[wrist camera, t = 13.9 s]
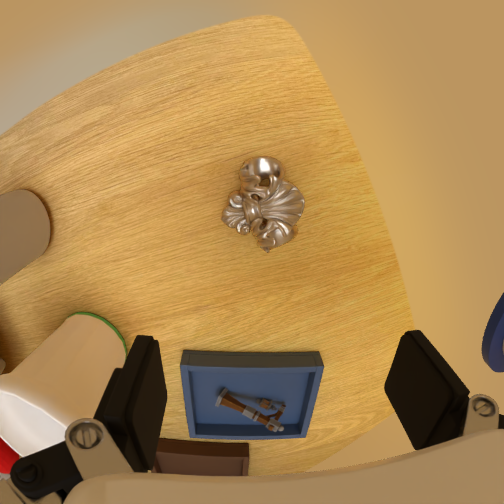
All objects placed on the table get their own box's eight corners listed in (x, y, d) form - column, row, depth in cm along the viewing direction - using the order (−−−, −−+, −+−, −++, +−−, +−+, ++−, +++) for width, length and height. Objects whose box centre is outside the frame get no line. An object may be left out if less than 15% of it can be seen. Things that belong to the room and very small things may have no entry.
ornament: (209, 168, 26) (205, 172, 22) (288, 149, 25) (296, 150, 22) (233, 255, 28) (233, 271, 25) (307, 236, 28) (317, 249, 25)
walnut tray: (248, 443, 38) (249, 457, 35) (245, 481, 42) (246, 493, 40) (146, 436, 37) (142, 449, 35) (159, 475, 41) (158, 487, 39)
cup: (58, 369, 33) (8, 454, 18) (42, 285, 29) (-40, 366, 14) (145, 392, 34) (116, 496, 19) (143, 306, 30) (89, 421, 15)
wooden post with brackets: (289, 414, 34) (278, 438, 30) (230, 386, 36) (214, 407, 32) (294, 405, 33) (284, 429, 29) (234, 376, 35) (218, 397, 31)
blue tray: (318, 351, 33) (324, 366, 30) (302, 423, 37) (305, 437, 34) (183, 349, 32) (179, 365, 29) (191, 422, 36) (189, 437, 34)
